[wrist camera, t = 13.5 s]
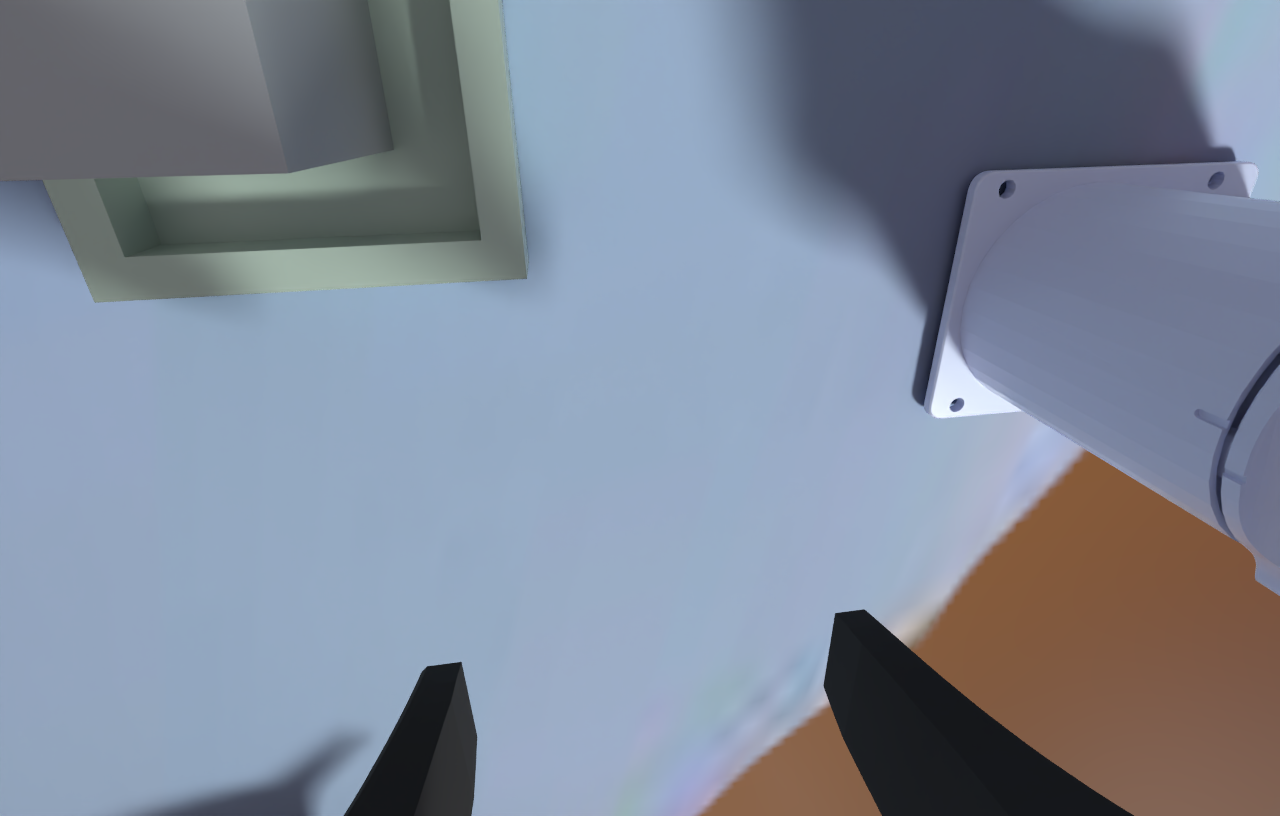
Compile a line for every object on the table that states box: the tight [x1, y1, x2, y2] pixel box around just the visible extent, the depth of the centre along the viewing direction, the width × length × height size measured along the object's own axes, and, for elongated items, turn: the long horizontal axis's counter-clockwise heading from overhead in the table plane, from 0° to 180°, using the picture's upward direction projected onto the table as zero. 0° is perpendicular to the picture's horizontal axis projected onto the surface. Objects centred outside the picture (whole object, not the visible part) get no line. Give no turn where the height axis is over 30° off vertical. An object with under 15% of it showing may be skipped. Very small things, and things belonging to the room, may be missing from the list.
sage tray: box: [42, 0, 529, 303], centre depth 13 cm, size 10×10×2 cm
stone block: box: [0, 0, 394, 181], centre depth 11 cm, size 4×4×7 cm
